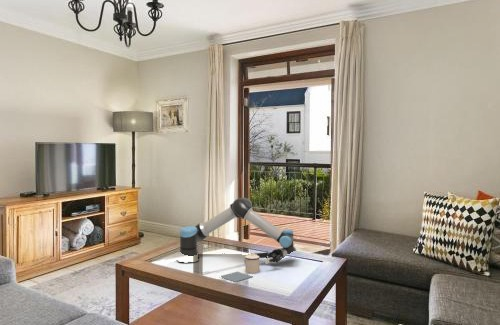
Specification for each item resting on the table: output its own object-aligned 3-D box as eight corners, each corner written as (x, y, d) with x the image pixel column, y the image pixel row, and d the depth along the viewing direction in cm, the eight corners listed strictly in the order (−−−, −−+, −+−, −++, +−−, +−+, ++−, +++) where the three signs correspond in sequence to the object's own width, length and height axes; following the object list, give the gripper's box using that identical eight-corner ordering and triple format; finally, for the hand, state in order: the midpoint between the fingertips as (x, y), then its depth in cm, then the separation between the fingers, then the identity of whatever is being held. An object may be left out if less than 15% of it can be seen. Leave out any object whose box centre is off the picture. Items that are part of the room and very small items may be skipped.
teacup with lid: (262, 271, 190) (262, 252, 191) (251, 274, 184) (251, 254, 185) (250, 268, 199) (250, 249, 200) (239, 270, 193) (239, 251, 194)
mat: (218, 277, 179) (218, 276, 179) (237, 272, 189) (237, 271, 189) (234, 282, 169) (234, 281, 169) (253, 277, 179) (253, 276, 179)
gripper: (293, 263, 201) (272, 269, 186) (265, 257, 218) (243, 262, 204) (293, 251, 201) (272, 256, 187) (265, 246, 219) (243, 250, 204)
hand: (257, 259), depth 195 cm, fingers open, 13 cm apart
